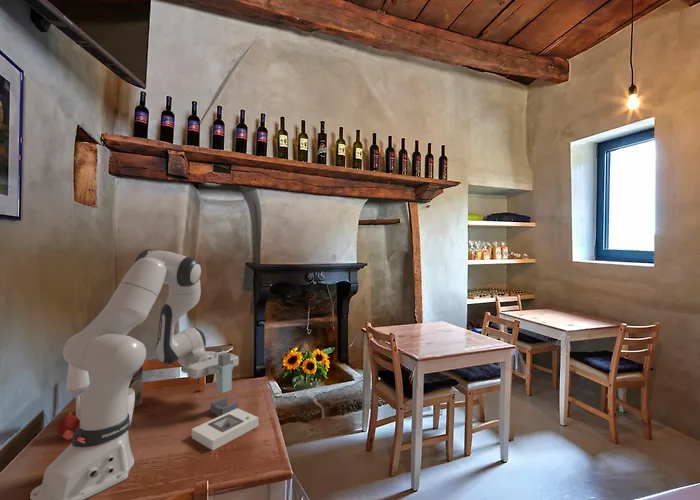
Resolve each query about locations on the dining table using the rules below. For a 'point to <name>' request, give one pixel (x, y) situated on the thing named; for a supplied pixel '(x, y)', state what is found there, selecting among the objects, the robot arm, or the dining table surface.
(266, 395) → the dining table surface
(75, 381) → the champagne flute
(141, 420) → the dining table surface
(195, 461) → the dining table surface
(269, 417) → the dining table surface
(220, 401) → the holster
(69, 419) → the onion
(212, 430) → the block
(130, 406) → the cup
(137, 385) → the coffee box
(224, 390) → the plug
